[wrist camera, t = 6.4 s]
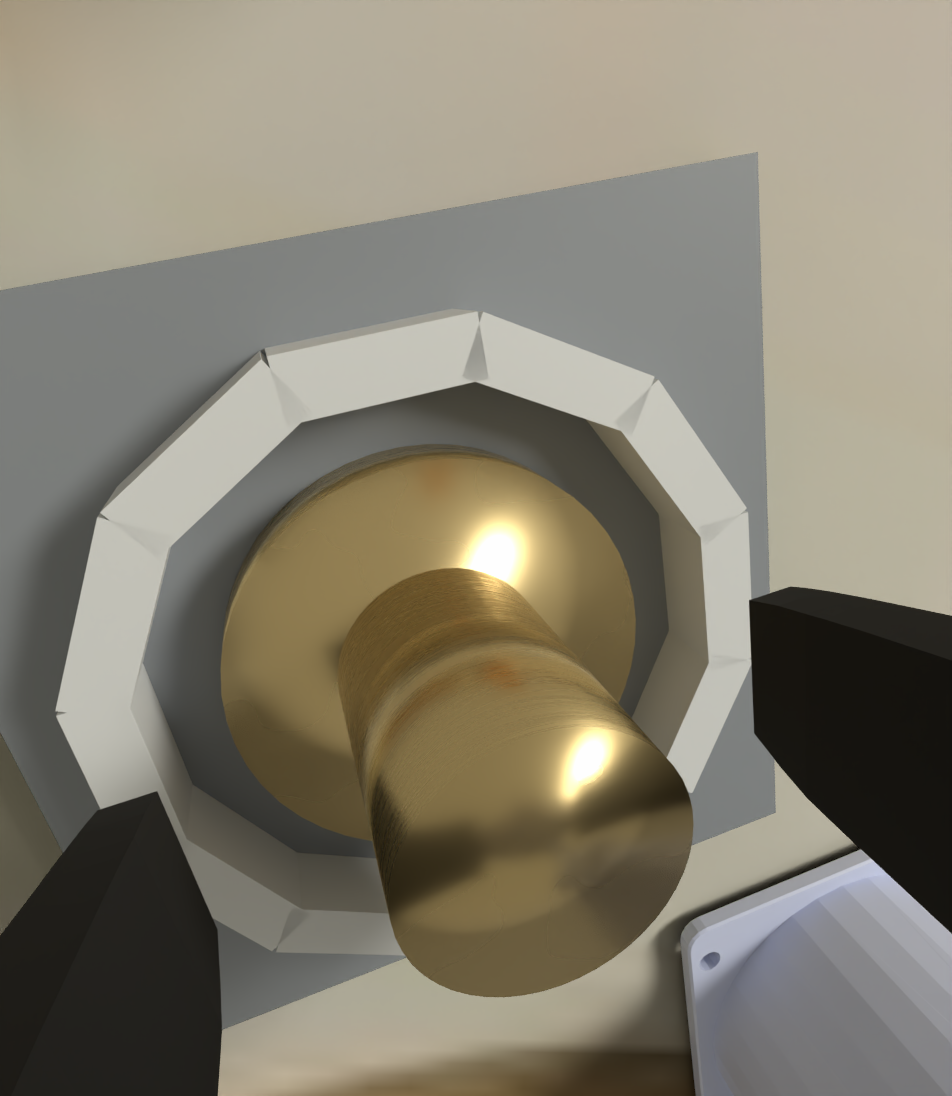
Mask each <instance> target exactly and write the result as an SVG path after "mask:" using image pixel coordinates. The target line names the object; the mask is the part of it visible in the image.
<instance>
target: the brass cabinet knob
mask: <svg viewBox="0 0 952 1096" xmlns="http://www.w3.org/2000/svg"><path fill="white" fill-rule="evenodd" d="M635 627H636V617H635V608H634V598H633V593H632V589H631V585H630V581H629V577H628V573H627V571H626V568H625V566H624V564H623V561H622V559H621V556H620V554H619V552H618V550H617V548H616V547H615V545H614V543H613V542H612V540H611V538H610V536H609V535H608V533H607V532H606V530H605V529H604V528H603V527H602V526H601V524H600V523H599V522H598V521H597V519H596V518H595V517H594V516H593V515H592V513H591V512H589V511H588V510H587V509H586V508H585V507H584V506H583V505H582V504H581V503H579V502H578V501H577V500H576V499H575V498H574V497H573V496H571V495H570V494H568V493H567V492H565V491H564V490H562V489H560V488H559V487H557V486H556V485H554V484H553V483H551V482H550V481H548V480H547V479H545V478H544V477H542V476H541V475H539V474H537V473H536V472H534V471H533V470H531V469H530V468H528V467H526V466H524V465H522V464H520V463H518V462H516V461H514V460H512V459H509V458H507V457H505V456H502V455H499V454H496V453H492V452H489V451H486V450H483V449H479V448H472V447H466V446H460V445H450V444H423V445H413V446H404V447H398V448H394V449H390V450H385V451H381V452H377V453H373V454H370V455H368V456H365V457H362V458H360V459H357V460H355V461H352V462H349V463H347V464H345V465H343V466H341V467H339V468H337V469H335V470H334V471H332V472H330V473H328V474H326V475H324V476H323V477H321V478H319V479H318V480H316V481H315V482H314V483H312V484H311V485H309V486H308V487H307V488H305V489H304V490H303V491H301V492H300V493H298V494H297V495H296V496H295V497H294V498H293V499H292V500H291V501H290V502H288V503H287V504H286V505H285V506H284V507H283V508H282V509H281V510H280V511H279V512H278V513H277V514H276V515H275V516H274V517H273V519H272V520H271V521H270V522H269V523H268V525H267V526H266V527H265V528H264V530H263V531H262V532H261V533H260V534H259V536H258V537H257V539H256V540H255V542H254V544H253V545H252V547H251V549H250V550H249V552H248V554H247V555H246V557H245V558H244V560H243V562H242V565H241V567H240V569H239V572H238V574H237V576H236V579H235V581H234V583H233V586H232V590H231V593H230V597H229V601H228V604H227V608H226V614H225V622H224V631H223V641H222V655H221V696H222V701H223V706H224V711H225V716H226V721H227V724H228V727H229V729H230V732H231V735H232V738H233V740H234V743H235V746H236V747H237V749H238V751H239V753H240V754H241V756H242V758H243V760H244V762H245V763H246V765H247V767H248V768H249V769H250V771H251V772H252V773H253V774H254V776H255V777H256V778H257V780H258V781H259V782H260V783H261V785H262V786H263V787H264V788H265V789H266V790H267V791H268V792H269V793H271V794H272V795H273V796H274V797H275V798H276V799H277V800H278V801H279V802H280V803H282V804H283V805H284V806H286V807H287V808H289V809H290V810H292V811H293V812H295V813H296V814H297V815H299V816H300V817H302V818H304V819H306V820H308V821H310V822H312V823H314V824H316V825H318V826H320V827H322V828H325V829H328V830H331V831H334V832H337V833H339V834H342V835H345V836H350V837H354V838H359V839H364V840H369V841H372V842H373V847H374V851H375V855H376V860H377V864H378V869H379V873H380V878H381V882H382V887H383V891H384V896H385V900H386V904H387V909H388V913H389V918H390V922H391V926H392V929H393V932H394V936H395V939H396V940H397V942H398V944H399V946H400V948H401V950H402V952H403V953H404V955H405V956H406V957H407V959H408V960H409V961H410V962H411V964H412V965H413V966H414V967H415V968H416V969H418V970H419V971H420V972H421V973H422V974H423V975H424V976H426V977H428V978H429V979H431V980H432V981H434V982H436V983H437V984H439V985H441V986H444V987H446V988H449V989H451V990H453V991H457V992H461V993H465V994H469V995H475V996H483V997H511V996H520V995H527V994H531V993H536V992H541V991H545V990H548V989H551V988H554V987H557V986H561V985H563V984H565V983H568V982H570V981H573V980H575V979H578V978H580V977H582V976H583V975H585V974H587V973H589V972H591V971H593V970H595V969H597V968H598V967H600V966H601V965H603V964H605V963H606V962H608V961H609V960H611V959H612V958H614V957H615V956H616V955H618V954H619V953H620V952H622V951H623V950H624V949H625V948H627V947H628V946H629V945H630V944H631V943H632V942H633V941H635V940H636V939H637V938H638V937H639V936H640V935H641V934H642V933H643V932H644V931H645V930H646V929H647V928H648V927H649V926H650V924H651V923H652V922H653V921H654V920H655V919H656V918H657V916H658V915H659V914H660V912H661V911H662V910H663V908H664V907H665V906H666V904H667V903H668V901H669V899H670V898H671V896H672V894H673V893H674V891H675V890H676V888H677V885H678V883H679V881H680V879H681V877H682V875H683V873H684V870H685V867H686V864H687V861H688V858H689V854H690V850H691V845H692V840H693V825H694V823H693V810H692V805H691V801H690V797H689V793H688V791H687V788H686V786H685V784H684V781H683V779H682V778H681V776H680V775H679V773H678V772H677V770H676V769H675V767H674V766H673V765H672V764H671V762H670V761H669V760H668V759H667V758H666V757H665V756H664V754H663V753H662V752H661V751H660V750H659V749H658V748H657V747H656V745H655V744H654V743H653V742H652V741H651V740H650V739H649V738H648V736H647V735H646V734H645V733H644V732H643V731H642V730H641V729H640V727H639V726H638V725H637V724H636V723H635V722H634V721H633V720H632V718H631V717H630V716H629V715H628V714H627V713H626V712H625V711H624V709H623V708H622V707H621V706H620V705H619V704H618V703H619V701H620V698H621V696H622V694H623V691H624V689H625V686H626V682H627V679H628V675H629V672H630V669H631V665H632V658H633V652H634V646H635Z"/></svg>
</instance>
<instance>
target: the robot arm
mask: <svg viewBox="0 0 952 1096" xmlns="http://www.w3.org/2000/svg"><path fill="white" fill-rule="evenodd" d="M749 617H750V642H751V668H752V693H753V718H754V734H755V735H756V737H757V738H758V739H759V740H760V742H761V743H762V744H763V745H764V747H765V748H766V749H767V750H768V752H769V753H770V754H771V755H772V757H773V758H774V759H775V760H776V762H777V763H778V764H779V766H780V767H781V768H782V769H783V770H784V772H785V773H786V774H787V775H788V776H789V777H790V779H791V780H792V781H793V782H794V783H795V784H796V786H797V787H798V788H799V789H800V790H801V791H802V793H803V794H804V795H805V796H806V797H807V798H808V799H809V800H810V801H811V802H812V803H813V804H814V805H815V806H816V807H817V808H818V809H819V810H820V811H821V812H822V813H823V814H824V815H825V816H826V817H827V818H828V819H829V820H831V821H832V822H833V823H834V824H835V825H836V826H837V827H838V828H839V829H840V830H841V831H842V832H843V833H844V834H845V835H846V836H847V837H848V838H849V839H851V840H852V841H853V842H854V843H855V844H856V845H857V846H858V847H859V848H860V850H858V851H855V852H853V853H851V854H848V855H846V856H843V857H841V858H838V859H836V860H834V861H831V862H829V863H826V864H824V865H822V866H819V867H817V868H814V869H812V870H810V871H807V872H805V873H802V874H800V875H798V876H795V877H793V878H790V879H788V880H785V881H783V882H781V883H778V884H776V885H773V886H771V887H769V888H766V889H764V890H761V891H759V892H757V893H754V894H752V895H749V896H747V897H745V898H742V899H740V900H737V901H735V902H732V903H730V904H728V905H725V906H723V907H720V908H718V909H716V910H713V911H711V912H708V913H706V914H704V915H701V916H699V917H697V918H695V919H693V920H692V921H690V922H689V923H688V924H687V925H686V926H685V928H684V930H683V932H682V934H681V940H680V944H681V954H682V964H683V974H684V984H685V994H686V1004H687V1014H688V1024H689V1034H690V1044H691V1054H692V1064H693V1074H694V1084H695V1094H696V1096H952V616H950V615H945V614H940V613H935V612H931V611H926V610H921V609H916V608H911V607H906V606H901V605H897V604H892V603H887V602H882V601H877V600H872V599H867V598H862V597H857V596H851V595H846V594H841V593H835V592H829V591H823V590H816V589H808V588H799V587H788V588H785V589H782V590H779V591H776V592H773V593H770V594H766V595H763V596H760V597H757V598H754V599H751V600H749ZM221 1035H222V1012H221V984H220V965H219V947H218V930H217V927H216V925H215V923H214V920H213V918H212V916H211V913H210V911H209V909H208V906H207V904H206V902H205V900H204V897H203V895H202V893H201V890H200V888H199V886H198V884H197V881H196V879H195V877H194V874H193V872H192V870H191V868H190V865H189V863H188V861H187V858H186V856H185V854H184V851H183V849H182V847H181V845H180V842H179V840H178V838H177V835H176V833H175V831H174V829H173V826H172V824H171V822H170V819H169V817H168V815H167V813H166V810H165V808H164V806H163V803H162V801H161V799H160V797H159V794H158V792H157V791H156V792H153V793H149V794H146V795H143V796H140V797H137V798H134V799H131V800H128V801H125V802H122V803H118V804H115V805H112V806H109V807H106V808H103V809H100V810H97V811H96V812H95V814H94V815H93V816H92V817H91V818H90V819H89V821H88V822H87V823H86V824H85V825H84V827H83V828H82V829H81V830H80V832H79V833H78V834H77V836H76V837H75V838H74V839H73V841H72V842H71V843H70V845H69V846H68V847H67V849H66V850H65V851H64V852H63V854H62V855H61V856H60V858H59V859H58V860H57V862H56V863H55V864H54V866H53V867H52V868H51V870H50V871H49V872H48V874H47V875H46V876H45V878H44V879H43V880H42V882H41V883H40V884H39V886H38V887H37V888H36V890H35V891H34V892H33V894H32V895H31V896H30V898H29V899H28V900H27V902H26V903H25V904H24V905H23V907H22V908H21V909H20V911H19V912H18V913H17V915H16V916H15V917H14V919H13V920H12V921H11V922H10V924H9V925H8V926H7V928H6V929H5V930H4V932H3V933H2V934H1V935H0V1096H218V1081H219V1066H220V1051H221Z"/></svg>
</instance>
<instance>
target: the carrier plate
mask: <svg viewBox="0 0 952 1096" xmlns="http://www.w3.org/2000/svg"><path fill="white" fill-rule="evenodd" d="M423 444H450V445H460V446H466V447H472V448H479V449H483V450H486V451H489V452H492V453H496V454H499V455H502V456H505V457H507V458H509V459H512V460H514V461H516V462H518V463H520V464H522V465H524V466H526V467H528V468H530V469H531V470H533V471H534V472H536V473H537V474H539V475H541V476H542V477H544V478H545V479H547V480H548V481H550V482H551V483H553V484H554V485H556V486H557V487H559V488H560V489H562V490H564V491H565V492H567V493H568V494H570V495H571V496H573V497H574V498H575V499H576V500H577V501H578V502H579V503H581V504H582V505H583V506H584V507H585V508H586V509H587V510H588V511H589V512H591V513H592V515H593V516H594V517H595V518H596V519H597V521H598V522H599V523H600V524H601V526H602V527H603V528H604V529H605V530H606V532H607V533H608V535H609V536H610V538H611V540H612V542H613V543H614V545H615V547H616V548H617V550H618V552H619V554H620V556H621V559H622V561H623V564H624V566H625V568H626V571H627V573H628V577H629V581H630V585H631V589H632V593H633V598H634V608H635V617H636V627H635V646H634V652H633V658H632V665H631V669H630V672H629V675H628V679H627V682H626V686H625V689H624V691H623V694H622V696H621V698H620V701H619V703H618V704H619V705H620V706H621V707H622V708H623V709H624V711H625V712H626V713H627V714H628V715H629V716H630V717H631V718H632V720H633V721H634V722H635V723H636V724H637V725H638V726H639V727H640V729H641V730H642V731H643V732H644V733H645V734H646V735H647V736H648V738H649V739H650V740H651V741H652V742H653V743H654V744H655V745H656V747H657V748H658V749H659V750H660V751H661V752H662V753H663V754H664V756H665V757H666V758H667V759H668V760H669V761H670V762H671V764H672V765H673V766H674V767H675V769H676V770H677V772H678V773H679V775H680V776H681V778H682V779H683V781H684V784H685V786H686V788H687V791H688V793H689V797H690V801H691V805H692V810H693V823H694V825H693V840H692V845H694V844H697V843H699V842H702V841H704V840H707V839H709V838H712V837H715V836H717V835H720V834H722V833H725V832H727V831H730V830H732V829H735V828H738V827H740V826H743V825H745V824H748V823H750V822H753V821H755V820H758V819H760V818H763V817H766V816H768V815H771V814H773V813H776V808H775V771H774V758H773V757H772V755H771V754H770V753H769V752H768V750H767V749H766V748H765V747H764V745H763V744H762V743H761V742H760V740H759V739H758V738H757V737H756V735H755V734H754V718H753V693H752V668H751V642H750V617H749V600H751V599H754V598H757V597H760V596H763V595H766V594H770V587H769V550H768V514H767V477H766V440H765V403H764V366H763V329H762V293H761V256H760V219H759V182H758V152H756V153H750V154H745V155H739V156H734V157H728V158H723V159H717V160H712V161H707V162H701V163H696V164H690V165H685V166H679V167H674V168H668V169H663V170H657V171H652V172H646V173H641V174H635V175H630V176H624V177H619V178H613V179H608V180H602V181H597V182H592V183H586V184H581V185H575V186H570V187H564V188H559V189H553V190H548V191H542V192H537V193H531V194H526V195H520V196H515V197H509V198H504V199H498V200H493V201H488V202H482V203H477V204H471V205H466V206H460V207H455V208H449V209H444V210H438V211H433V212H427V213H422V214H416V215H411V216H405V217H400V218H394V219H389V220H384V221H378V222H373V223H367V224H362V225H356V226H351V227H345V228H340V229H334V230H329V231H323V232H318V233H312V234H307V235H301V236H296V237H290V238H285V239H279V240H274V241H269V242H263V243H258V244H252V245H247V246H241V247H236V248H230V249H225V250H219V251H214V252H208V253H203V254H197V255H192V256H186V257H181V258H175V259H170V260H165V261H159V262H154V263H148V264H143V265H137V266H132V267H126V268H121V269H115V270H110V271H104V272H99V273H93V274H88V275H82V276H77V277H71V278H66V279H60V280H55V281H50V282H44V283H39V284H33V285H28V286H22V287H17V288H11V289H6V290H0V733H1V735H2V737H3V739H4V741H5V743H6V744H7V746H8V748H9V750H10V752H11V754H12V756H13V758H14V760H15V762H16V764H17V766H18V768H19V769H20V771H21V773H22V775H23V777H24V779H25V781H26V783H27V785H28V787H29V789H30V791H31V793H32V794H33V796H34V798H35V800H36V802H37V804H38V806H39V808H40V810H41V812H42V814H43V816H44V818H45V819H46V821H47V823H48V825H49V827H50V829H51V831H52V833H53V835H54V837H55V839H56V841H57V843H58V844H59V846H60V848H61V850H62V852H64V851H65V850H66V849H67V847H68V846H69V845H70V843H71V842H72V841H73V839H74V838H75V837H76V836H77V834H78V833H79V832H80V830H81V829H82V828H83V827H84V825H85V824H86V823H87V822H88V821H89V819H90V818H91V817H92V816H93V815H94V814H95V812H96V811H97V810H100V809H103V808H106V807H109V806H112V805H115V804H118V803H122V802H125V801H128V800H131V799H134V798H137V797H140V796H143V795H146V794H149V793H153V792H156V791H157V792H158V794H159V797H160V799H161V801H162V803H163V806H164V808H165V810H166V813H167V815H168V817H169V819H170V822H171V824H172V826H173V829H174V831H175V833H176V835H177V838H178V840H179V842H180V845H181V847H182V849H183V851H184V854H185V856H186V858H187V861H188V863H189V865H190V868H191V870H192V872H193V874H194V877H195V879H196V881H197V884H198V886H199V888H200V890H201V893H202V895H203V897H204V900H205V902H206V904H207V906H208V909H209V911H210V913H211V916H212V918H213V920H214V923H215V925H216V927H217V930H218V947H219V965H220V984H221V1012H222V1030H223V1029H225V1028H228V1027H230V1026H233V1025H235V1024H238V1023H241V1022H243V1021H246V1020H248V1019H251V1018H253V1017H256V1016H258V1015H261V1014H264V1013H266V1012H269V1011H271V1010H274V1009H276V1008H279V1007H281V1006H284V1005H286V1004H289V1003H292V1002H294V1001H297V1000H299V999H302V998H304V997H307V996H309V995H312V994H314V993H317V992H320V991H322V990H325V989H327V988H330V987H332V986H335V985H337V984H340V983H343V982H345V981H348V980H350V979H353V978H355V977H358V976H360V975H363V974H365V973H368V972H371V971H373V970H376V969H378V968H381V967H383V966H386V965H388V964H391V963H393V962H396V961H399V960H401V959H404V958H406V956H405V955H404V953H403V952H402V950H401V948H400V946H399V944H398V942H397V940H396V939H395V936H394V932H393V929H392V926H391V922H390V918H389V913H388V909H387V904H386V900H385V896H384V891H383V887H382V882H381V878H380V873H379V869H378V864H377V860H376V855H375V851H374V847H373V842H372V841H369V840H364V839H359V838H354V837H350V836H345V835H342V834H339V833H337V832H334V831H331V830H328V829H325V828H322V827H320V826H318V825H316V824H314V823H312V822H310V821H308V820H306V819H304V818H302V817H300V816H299V815H297V814H296V813H295V812H293V811H292V810H290V809H289V808H287V807H286V806H284V805H283V804H282V803H280V802H279V801H278V800H277V799H276V798H275V797H274V796H273V795H272V794H271V793H269V792H268V791H267V790H266V789H265V788H264V787H263V786H262V785H261V783H260V782H259V781H258V780H257V778H256V777H255V776H254V774H253V773H252V772H251V771H250V769H249V768H248V767H247V765H246V763H245V762H244V760H243V758H242V756H241V754H240V753H239V751H238V749H237V747H236V746H235V743H234V740H233V738H232V735H231V732H230V729H229V727H228V724H227V721H226V716H225V711H224V706H223V701H222V696H221V655H222V641H223V631H224V622H225V614H226V608H227V604H228V601H229V597H230V593H231V590H232V586H233V583H234V581H235V579H236V576H237V574H238V572H239V569H240V567H241V565H242V562H243V560H244V558H245V557H246V555H247V554H248V552H249V550H250V549H251V547H252V545H253V544H254V542H255V540H256V539H257V537H258V536H259V534H260V533H261V532H262V531H263V530H264V528H265V527H266V526H267V525H268V523H269V522H270V521H271V520H272V519H273V517H274V516H275V515H276V514H277V513H278V512H279V511H280V510H281V509H282V508H283V507H284V506H285V505H286V504H287V503H288V502H290V501H291V500H292V499H293V498H294V497H295V496H296V495H297V494H298V493H300V492H301V491H303V490H304V489H305V488H307V487H308V486H309V485H311V484H312V483H314V482H315V481H316V480H318V479H319V478H321V477H323V476H324V475H326V474H328V473H330V472H332V471H334V470H335V469H337V468H339V467H341V466H343V465H345V464H347V463H349V462H352V461H355V460H357V459H360V458H362V457H365V456H368V455H370V454H373V453H377V452H381V451H385V450H390V449H394V448H398V447H404V446H413V445H423ZM692 845H691V846H692Z"/></svg>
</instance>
